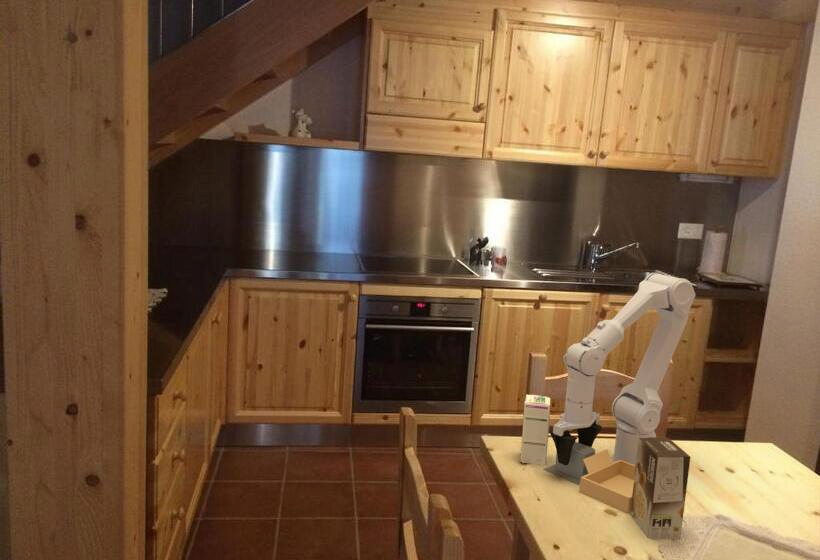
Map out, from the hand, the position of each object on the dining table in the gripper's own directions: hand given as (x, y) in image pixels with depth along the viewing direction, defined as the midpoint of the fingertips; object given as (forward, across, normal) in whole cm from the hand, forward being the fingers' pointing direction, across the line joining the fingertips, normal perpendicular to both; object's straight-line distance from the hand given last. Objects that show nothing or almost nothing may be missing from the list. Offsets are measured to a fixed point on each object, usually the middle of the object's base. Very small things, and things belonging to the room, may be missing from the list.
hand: (573, 459), depth 148 cm
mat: (+3, 0, 0) cm, 3 cm away
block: (+3, 0, 0) cm, 3 cm away
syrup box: (+3, +2, -10) cm, 10 cm away
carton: (+3, 0, +12) cm, 12 cm away
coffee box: (+3, +7, +23) cm, 25 cm away
